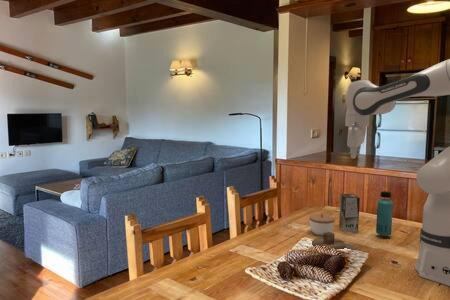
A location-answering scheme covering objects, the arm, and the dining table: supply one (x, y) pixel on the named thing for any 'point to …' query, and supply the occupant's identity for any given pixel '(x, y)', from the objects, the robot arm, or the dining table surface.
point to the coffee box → (349, 213)
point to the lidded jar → (321, 223)
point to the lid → (329, 241)
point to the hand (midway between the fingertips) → (355, 156)
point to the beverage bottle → (384, 215)
